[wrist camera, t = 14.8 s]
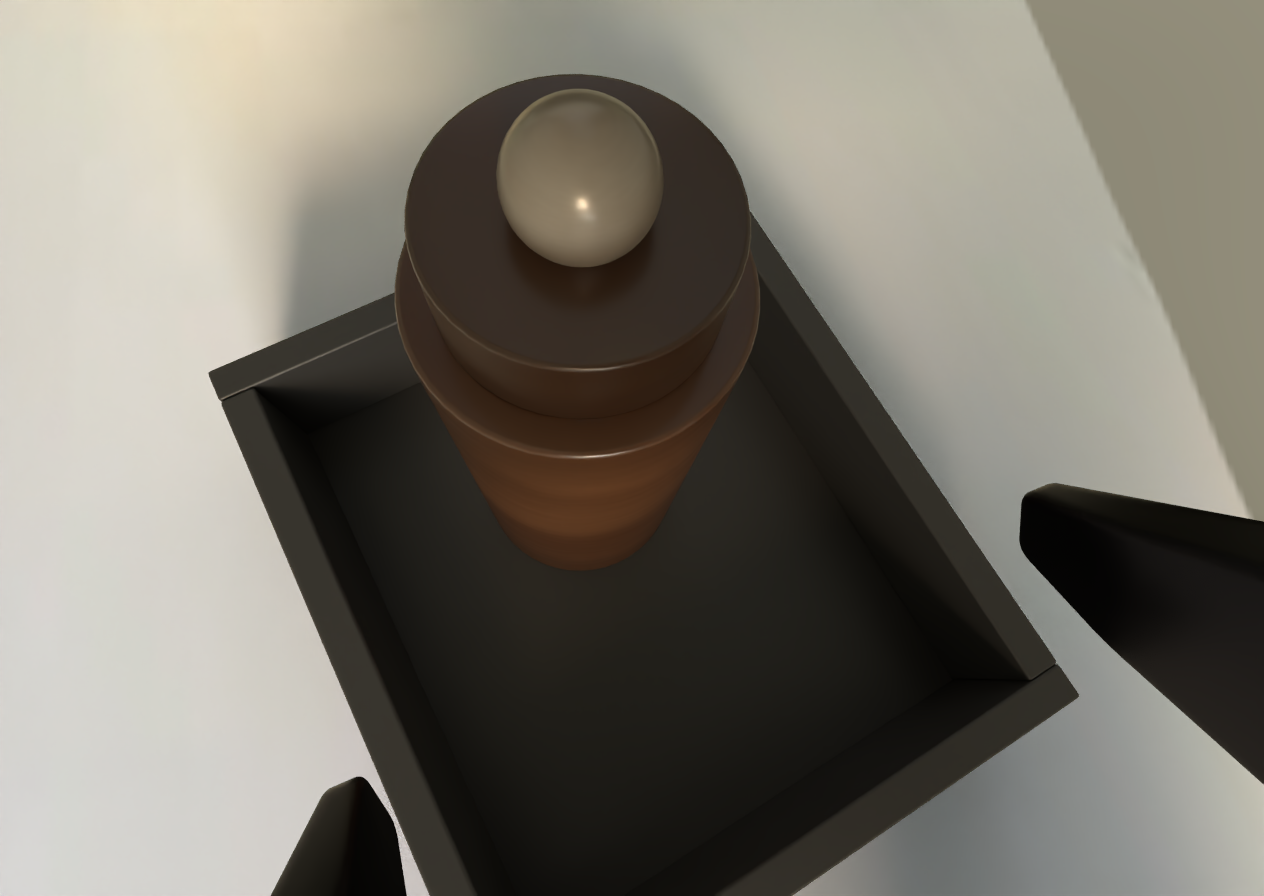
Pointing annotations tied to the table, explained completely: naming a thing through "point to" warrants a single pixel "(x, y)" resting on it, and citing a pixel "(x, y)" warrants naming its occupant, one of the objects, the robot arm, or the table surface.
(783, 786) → the dark grey tray
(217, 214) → the table surface
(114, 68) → the table surface
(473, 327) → the pepper mill
